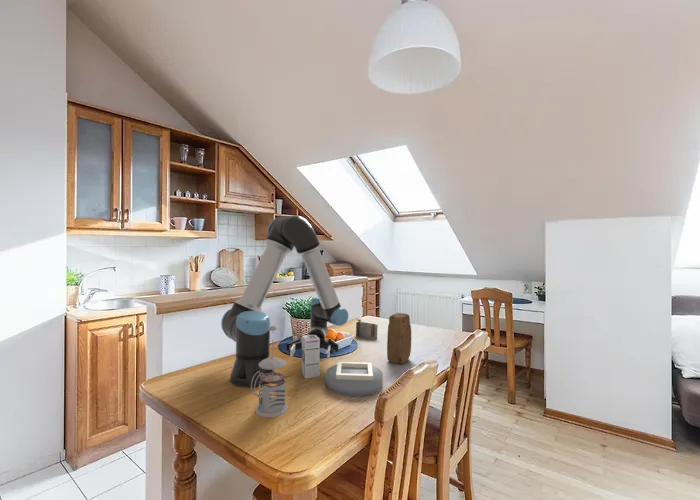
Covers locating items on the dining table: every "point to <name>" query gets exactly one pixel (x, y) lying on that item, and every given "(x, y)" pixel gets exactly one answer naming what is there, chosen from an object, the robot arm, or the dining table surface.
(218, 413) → the dining table surface
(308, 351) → the syrup box
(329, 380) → the tower base
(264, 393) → the french press
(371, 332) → the ruin model on sheet
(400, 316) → the block
